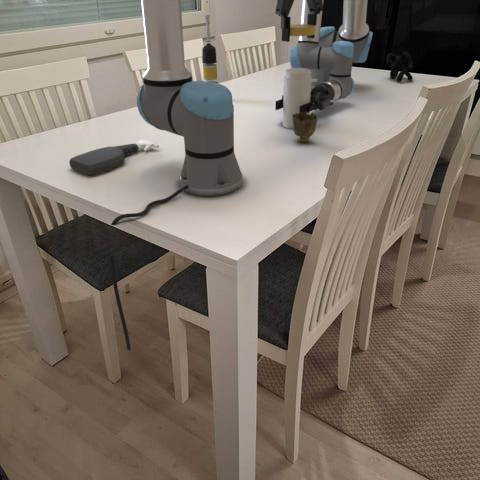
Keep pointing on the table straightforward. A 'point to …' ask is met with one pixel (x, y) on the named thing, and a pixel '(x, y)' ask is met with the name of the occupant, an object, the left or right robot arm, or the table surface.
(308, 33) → the lid
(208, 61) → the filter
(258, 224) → the table surface
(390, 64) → the squiggle
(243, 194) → the table surface
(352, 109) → the table surface
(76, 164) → the spray bottle
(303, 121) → the cup
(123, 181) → the table surface
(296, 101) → the jar
